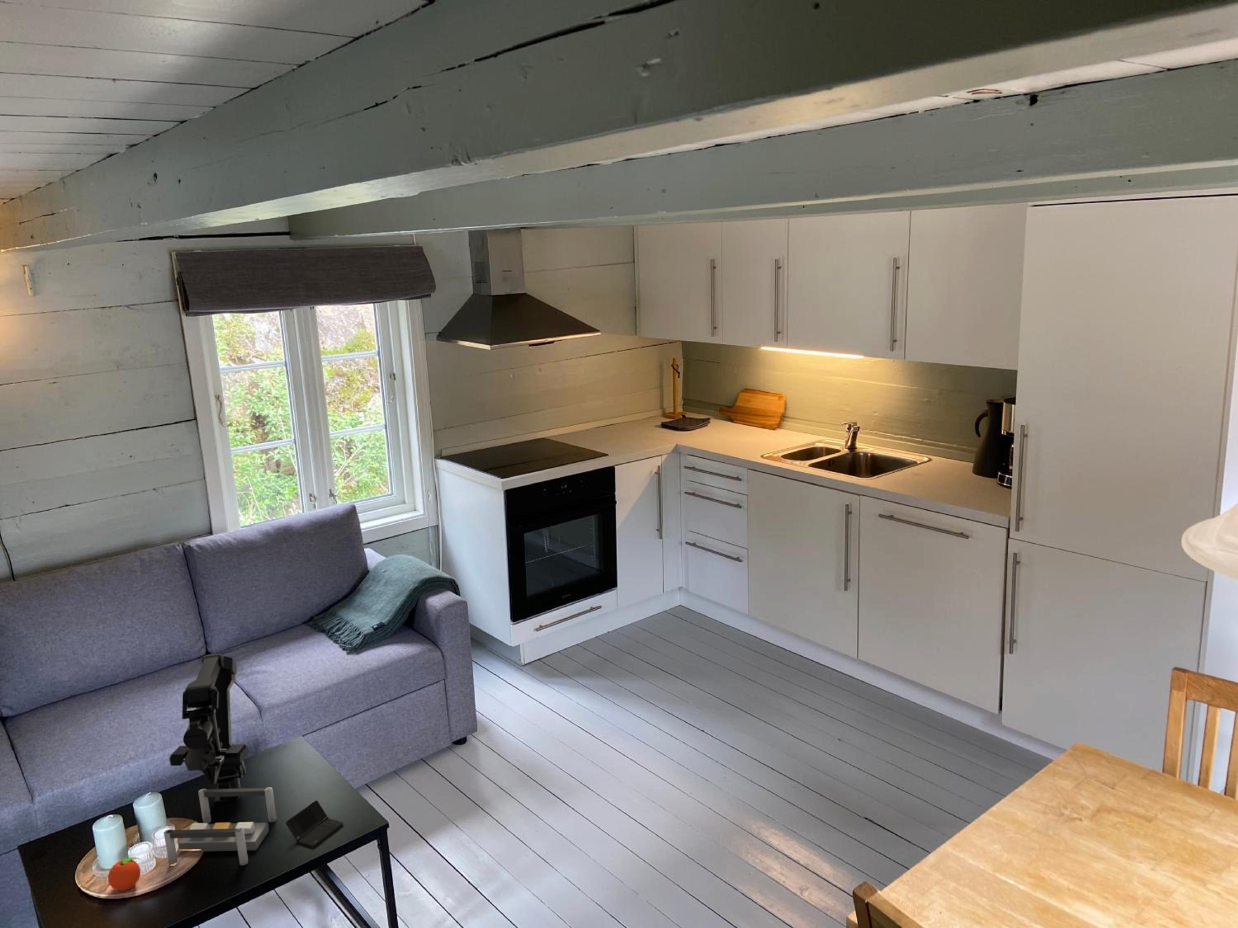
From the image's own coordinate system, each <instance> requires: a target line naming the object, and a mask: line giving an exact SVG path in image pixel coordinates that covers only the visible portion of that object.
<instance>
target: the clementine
mask: <svg viewBox="0 0 1238 928" xmlns="http://www.w3.org/2000/svg"><path fill="white" fill-rule="evenodd" d="M135 859H138V860H140V861H141V862H143V860H142V859H141V858H140V857H139V858H138V857H135V856H134V857H133V856H132V857H127V858H125V859H121V860H119V861H117V862H116V863H114V864H113V865H112V866H111V868H110V870H109V872H108V875H107V879H108V880H107V881H108V884H109V886H110V887H111V888H112V889H114V890H116V891H127V890H130V889H131V888H132V887H134V886H136V884H137V883H138V881H139V880H140V876H141V867H140V865H139V864H138V863H137V862H136V861H135ZM129 888H130V889H129Z"/></svg>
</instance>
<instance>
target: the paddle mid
mask: <svg viewBox="0 0 1238 928" xmlns="http://www.w3.org/2000/svg"><path fill="white" fill-rule="evenodd" d="M214 824H215V825H214V827H213V829H232V825H231V824H232V823H231V822H215V823H214Z"/></svg>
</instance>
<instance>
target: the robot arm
mask: <svg viewBox="0 0 1238 928" xmlns="http://www.w3.org/2000/svg"><path fill="white" fill-rule="evenodd" d="M237 668H238V667H237V662H236V661H235V659H234V658H233V657H229V656H226V655H224V654H223V653H212V654H206V655H204V656H202V659H201V666H200V668H199V671H198V673H197V676H196V678H195V680H192V681H191V682H189V683H188V684H187V686H186V687H185V689H184V691H182V704H181V705H182V707H181V708H182V710H181V712H182V714H181V719H182V720H188V722H189V723H188V726H187V728H186V730H185V732H184V735H183V738H182V740H183V743H184V745H179V746H178V747H177V748H176V749H175V750H174V751H173V752H172V753H171V754H170V755H169V758H168V760H169V766H171V767H175V766H176V767H181V766H182V765H183V764H185V767H186V769H187V771H189V772H193V771H198V772H202V773H203V775H204V776H205V778H206V780H207V781H208V782H209V783H210V785H212V786H215V784H217V789H243V788H244V787H241V783H240V779H243V776H245V775H246V771H247V770H246V766H245V762H244V760H245V758H246V757H247V756H248V754H249V753H250V751H249V747H248V745H247V744H246V743H245V744H244V743H239V744H238V743H237V744H236V743H235V744H233V740H232V718H231V717H232V716H231V694H230V693H231V692H230V690H231V689H232V686H233V684H234V683H235V681H236V675H237V672H238V669H237ZM189 709H190V710H189ZM240 798H242V796H227V797H215V799H214V800H213V801H214V803H235V802H238V801H239V800H240Z"/></svg>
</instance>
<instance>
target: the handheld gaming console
mask: <svg viewBox="0 0 1238 928" xmlns="http://www.w3.org/2000/svg"><path fill="white" fill-rule="evenodd" d="M285 825H286V826H287V829H288V830H289V831H290V833H291V835H292V836H293V838H294V839H295V840H296V844H299V845H302V846H304V847H308V848H310V849H315V848H316V847H318V846H319V845H320V844H322V843H323V842H324V841H326V839H328V838H330V836H331V835H333V834H335V833H336V832H338V830H340V828H343V826H344V822H343V821H338V820H335V819H332V818H329V816H327V814H326V811H324V808H323V807H322V805H321V804H320V802H319V801H318V800H314V801H313V802H311V803H310V804H309V805H307V806H306V807H305V808H303V809H302V810H301V811H299V812H298V813H296V814H294V815H293V816H292V817H290V818H289V819H288V820H286V822H285Z"/></svg>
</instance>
